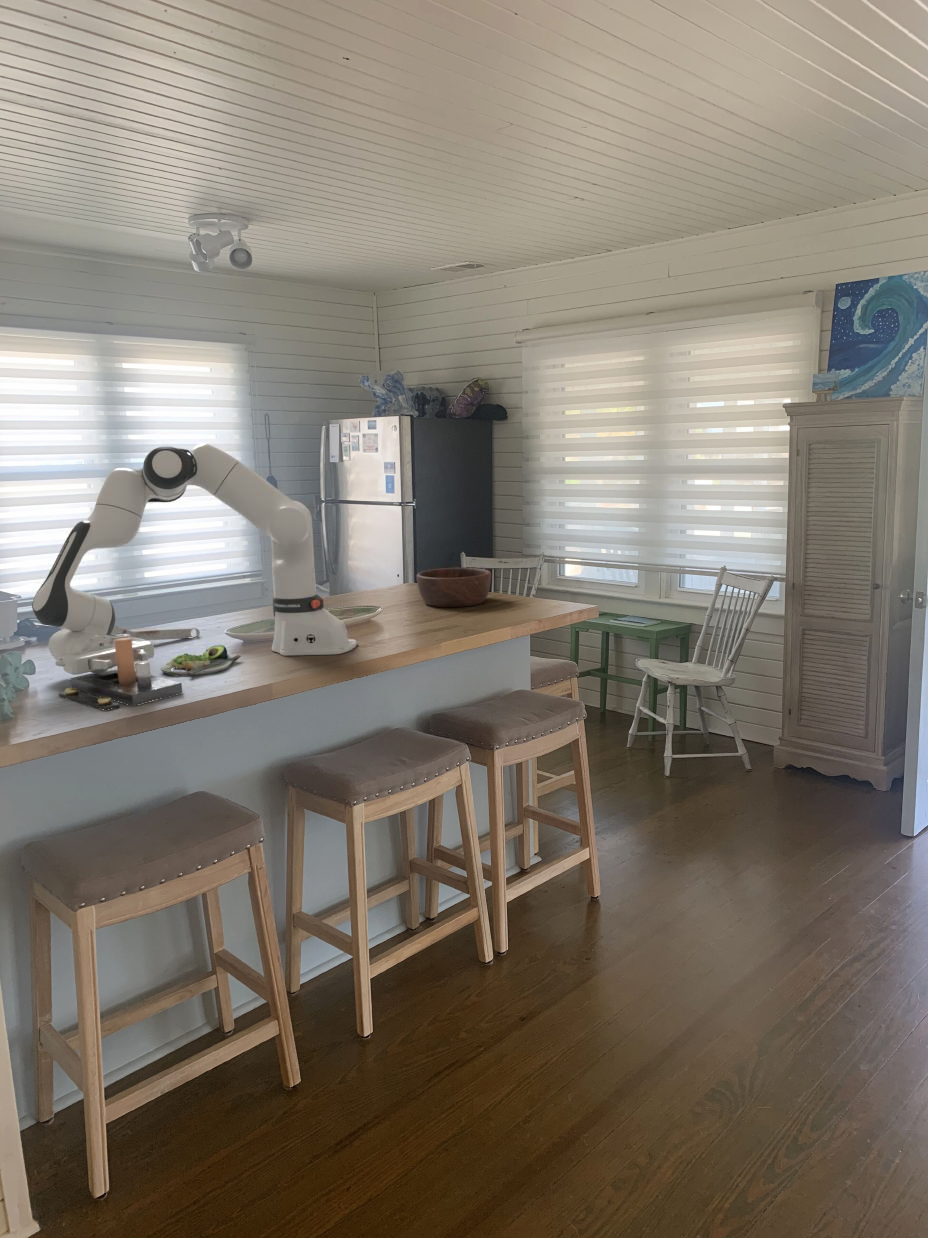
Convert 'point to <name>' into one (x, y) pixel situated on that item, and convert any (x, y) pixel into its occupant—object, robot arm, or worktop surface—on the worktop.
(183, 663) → the salad plate
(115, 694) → the hole plate
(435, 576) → the wooden bowl
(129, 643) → the dowel
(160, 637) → the wrench
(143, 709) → the worktop surface
